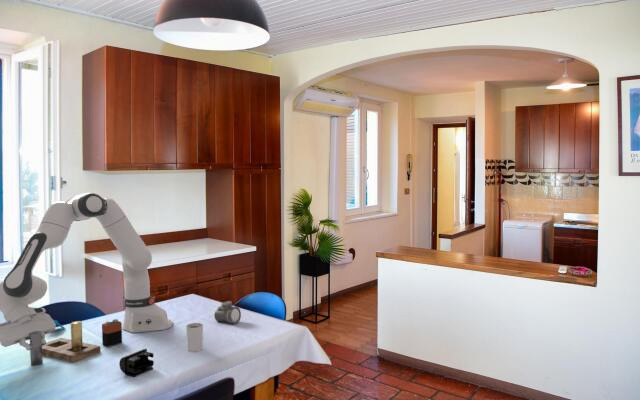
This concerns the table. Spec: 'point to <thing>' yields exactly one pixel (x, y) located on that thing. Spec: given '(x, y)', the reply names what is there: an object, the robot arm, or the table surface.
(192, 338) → the grey cup
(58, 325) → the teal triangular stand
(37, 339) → the steel leg
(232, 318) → the pipe fitting
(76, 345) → the brass leg
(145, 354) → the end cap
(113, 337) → the battery
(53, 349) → the hole plate
